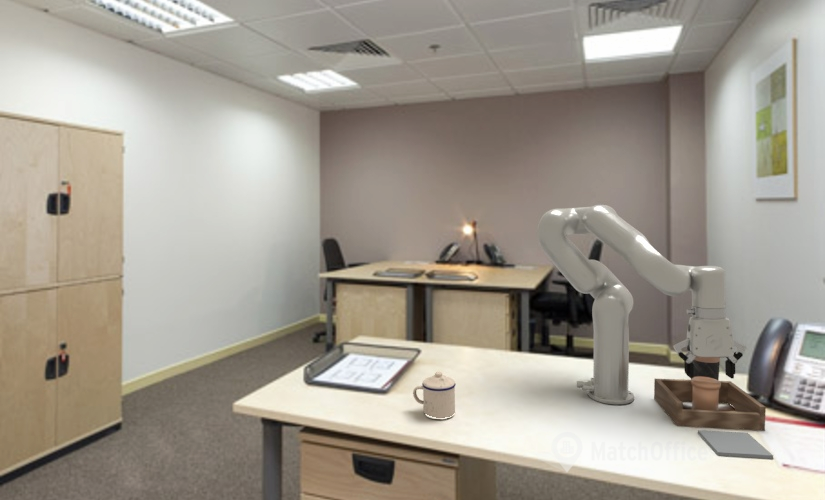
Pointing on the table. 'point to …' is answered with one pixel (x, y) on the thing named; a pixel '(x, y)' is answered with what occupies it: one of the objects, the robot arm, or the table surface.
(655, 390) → the brown wooden square frame
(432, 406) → the teacup with lid
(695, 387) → the terracotta pot
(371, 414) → the table surface
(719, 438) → the slate mat
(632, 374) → the table surface
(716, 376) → the travel mug
